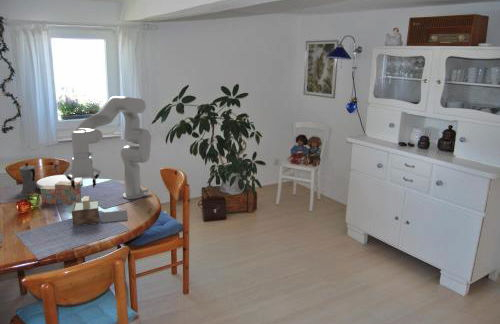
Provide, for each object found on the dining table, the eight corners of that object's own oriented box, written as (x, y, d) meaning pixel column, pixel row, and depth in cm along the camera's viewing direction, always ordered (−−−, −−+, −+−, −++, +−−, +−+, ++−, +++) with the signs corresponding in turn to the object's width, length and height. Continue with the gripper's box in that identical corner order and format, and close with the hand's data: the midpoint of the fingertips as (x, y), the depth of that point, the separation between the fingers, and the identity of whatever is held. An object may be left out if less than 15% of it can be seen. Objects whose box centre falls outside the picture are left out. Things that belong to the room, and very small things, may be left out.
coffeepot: (17, 190, 263) (13, 162, 258) (32, 186, 270) (29, 159, 266) (29, 195, 254) (25, 167, 249) (44, 191, 261) (41, 163, 257)
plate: (67, 171, 288) (91, 177, 275) (67, 180, 290) (91, 187, 276) (27, 176, 265) (52, 184, 251) (27, 186, 266) (52, 194, 252)
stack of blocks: (41, 203, 241) (39, 183, 238) (48, 199, 247) (45, 180, 244) (76, 205, 239) (74, 185, 236) (82, 201, 245) (80, 181, 242)
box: (98, 214, 226) (97, 200, 224) (98, 223, 214) (96, 208, 212) (75, 216, 223) (73, 202, 221) (73, 226, 211) (71, 211, 209)
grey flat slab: (126, 210, 231) (126, 210, 231) (127, 220, 218) (127, 219, 218) (101, 213, 227) (101, 212, 227) (101, 223, 214) (101, 222, 214)
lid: (98, 202, 224) (97, 194, 222) (97, 209, 214) (96, 200, 212) (76, 204, 220) (75, 196, 219) (74, 212, 210) (73, 203, 209)
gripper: (99, 152, 215) (101, 184, 220) (63, 154, 210) (66, 186, 214) (99, 156, 209) (101, 188, 213) (61, 158, 203) (65, 191, 208)
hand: (84, 187), depth 214 cm, fingers open, 9 cm apart
